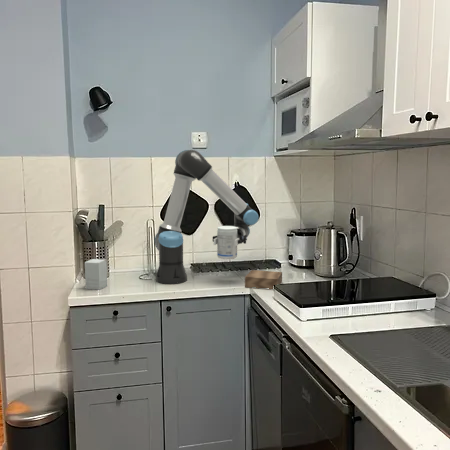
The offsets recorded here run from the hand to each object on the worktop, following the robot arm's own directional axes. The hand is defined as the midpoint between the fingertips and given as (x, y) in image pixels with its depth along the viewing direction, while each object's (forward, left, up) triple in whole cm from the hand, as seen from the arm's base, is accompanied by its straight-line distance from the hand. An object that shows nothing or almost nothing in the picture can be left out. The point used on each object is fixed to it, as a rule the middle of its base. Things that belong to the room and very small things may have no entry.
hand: (224, 242), depth 218 cm
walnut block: (+18, +5, -20) cm, 27 cm away
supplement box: (-55, -22, -20) cm, 63 cm away
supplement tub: (0, +4, -8) cm, 9 cm away
